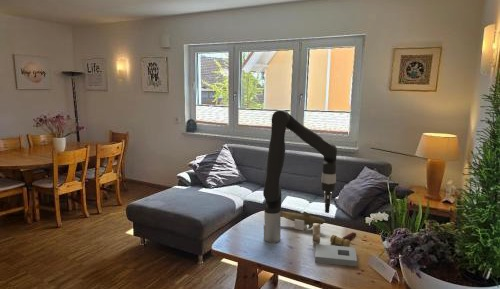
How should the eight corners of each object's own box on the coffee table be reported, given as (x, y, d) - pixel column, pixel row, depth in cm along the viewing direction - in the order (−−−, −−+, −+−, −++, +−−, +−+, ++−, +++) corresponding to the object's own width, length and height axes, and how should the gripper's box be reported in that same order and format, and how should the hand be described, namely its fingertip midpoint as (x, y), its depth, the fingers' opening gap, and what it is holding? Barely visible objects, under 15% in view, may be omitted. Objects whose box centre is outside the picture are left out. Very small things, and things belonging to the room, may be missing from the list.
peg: (312, 246, 178) (312, 225, 176) (312, 242, 182) (312, 222, 180) (320, 247, 177) (320, 226, 175) (320, 243, 181) (320, 223, 179)
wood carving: (275, 219, 216) (275, 203, 214) (326, 229, 199) (327, 212, 197) (269, 224, 208) (269, 208, 206) (322, 235, 191) (323, 217, 190)
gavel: (348, 227, 196) (363, 231, 189) (347, 234, 196) (363, 239, 189) (330, 235, 181) (346, 241, 174) (329, 243, 181) (346, 249, 174)
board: (315, 262, 161) (315, 256, 161) (315, 249, 175) (316, 243, 174) (356, 266, 156) (357, 260, 156) (354, 252, 170) (354, 247, 169)
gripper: (321, 177, 181) (320, 204, 183) (321, 184, 167) (319, 213, 170) (335, 178, 179) (333, 206, 182) (336, 185, 165) (334, 215, 168)
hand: (327, 209), depth 176 cm, fingers open, 8 cm apart
